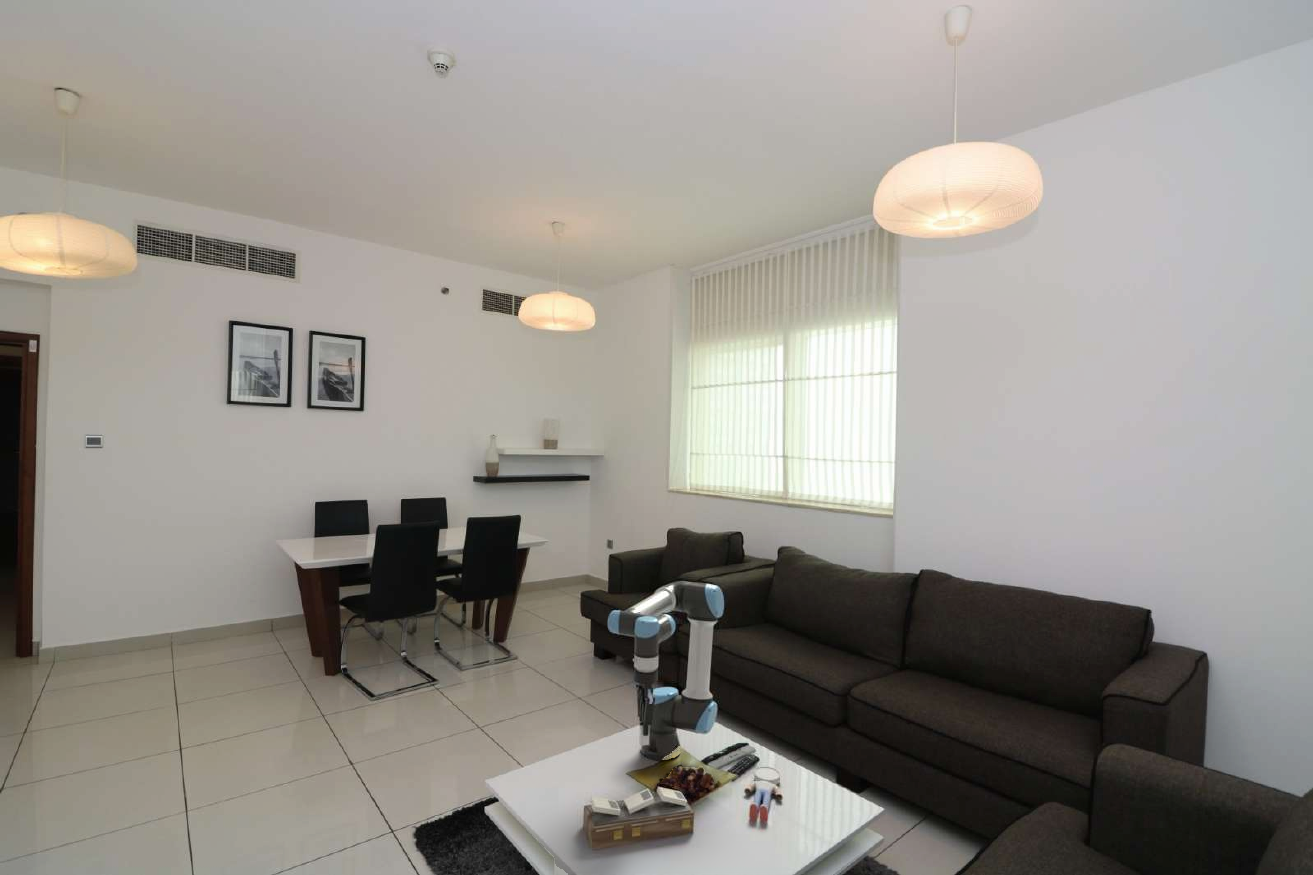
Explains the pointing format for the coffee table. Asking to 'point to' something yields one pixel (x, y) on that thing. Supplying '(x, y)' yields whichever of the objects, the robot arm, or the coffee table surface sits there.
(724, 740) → the coffee table surface
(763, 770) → the toy
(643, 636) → the robot arm
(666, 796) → the rocker
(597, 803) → the rocker
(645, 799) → the block
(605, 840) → the wooden storage box
